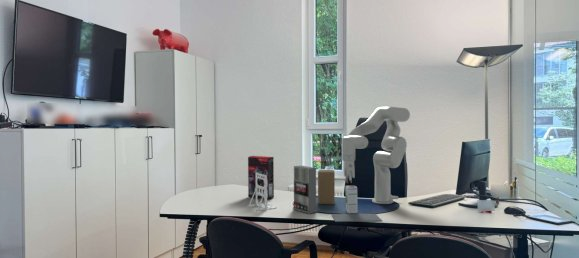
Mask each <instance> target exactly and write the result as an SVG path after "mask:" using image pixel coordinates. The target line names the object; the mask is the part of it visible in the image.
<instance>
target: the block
mask: <svg viewBox="0 0 579 258" xmlns="http://www.w3.org/2000/svg"><path fill="white" fill-rule="evenodd" d="M335 181H336V180H335V170H334V169H318V170H317V202H318V203H317V204H318V205H335V196H336V195H335V188H336V187H335V186H336V185H335Z"/></svg>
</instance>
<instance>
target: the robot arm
mask: <svg viewBox="0 0 579 258" xmlns="http://www.w3.org/2000/svg"><path fill="white" fill-rule="evenodd" d="M410 117H411V114H410V111H409V109H408V108H407V107H399V106H398V107H396V106H379V107H377V108H376V109H375V110H374V111H373V113H372V114H371V115H370V116H369V117H368V119H366V121H364V122H362V123H361V124H360V125H358V126H356V127H354V128H352V130H351V131H350V132H349V133H348V134H347V136H343V137H342V140H341V150H342V151H341V153H342V155H341V160H342V161H343V175H344V177H345V186H350V185H352V184H353V183H352V181H353V180H352V178H353V179H355V178H356V177H355V176H356V174H355V172H356V169H355V161H356V149H358V150H359V149H360V150H361V149H363V150H364V149H366V148H367V147H368V146H369V140H368V138H367V137H366V135H369V134H373V133H375V132H377V131H378V130H379V128H380V127H381V126H382V125H383V124H384V123H385V122H386V129H385V130H386V131H385V134H384V135H383V138H382V140H381V144H380V145H381V149H382V150H378V151H376V152H375V153H374V154H373V156H372V161H373V162H372V163H373V166H374V198H372V199H371V201H372V203H374V204H379V205H389V204H393V203H394V200H399V196H398V195H392V194H391V171H390V168H391V169H396V168H398V167H399V166H400V165H401V163H402V161H403V158H404V156H405V153H406V150H407V140H406V139H405V137H403V136H400V134H401V127H400V125H399V123H403V122H407V121H408V120H409V119H410Z"/></svg>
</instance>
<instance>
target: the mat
mask: <svg viewBox="0 0 579 258" xmlns="http://www.w3.org/2000/svg"><path fill="white" fill-rule="evenodd" d="M331 217H332V218H333V220H334V222H335V223H343V222H344V223H350V222H353V223H354V222H355V223H356V222H361V223H362V222H363V223H364V222H383V220H382V218H381V217H379V216H378V215H377V214H376V213H331Z"/></svg>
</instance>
